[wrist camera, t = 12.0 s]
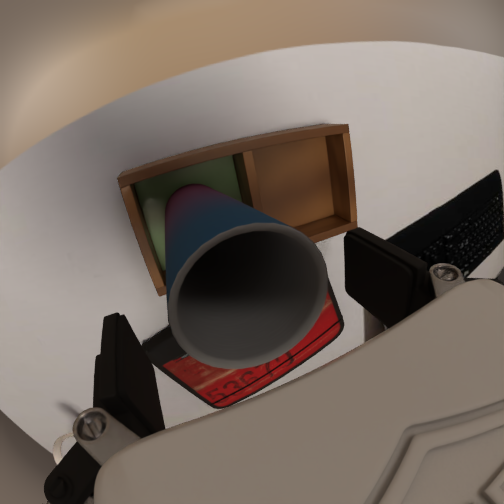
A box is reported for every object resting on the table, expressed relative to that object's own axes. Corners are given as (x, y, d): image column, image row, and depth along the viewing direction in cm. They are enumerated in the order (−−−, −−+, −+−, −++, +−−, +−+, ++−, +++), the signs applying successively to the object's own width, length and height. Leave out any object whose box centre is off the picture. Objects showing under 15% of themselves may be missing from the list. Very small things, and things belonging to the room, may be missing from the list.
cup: (225, 252, 27) (304, 361, 14) (151, 247, 24) (165, 373, 11) (238, 178, 25) (346, 231, 12) (159, 168, 22) (176, 213, 9)
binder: (141, 357, 26) (316, 241, 28) (139, 342, 28) (304, 233, 30) (220, 416, 35) (350, 331, 37) (216, 404, 37) (340, 322, 39)
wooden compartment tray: (121, 172, 22) (116, 177, 19) (324, 123, 27) (348, 124, 23) (156, 276, 27) (159, 297, 23) (335, 217, 31) (357, 228, 28)
